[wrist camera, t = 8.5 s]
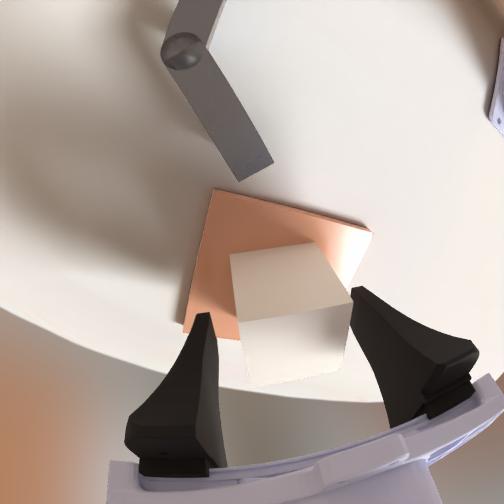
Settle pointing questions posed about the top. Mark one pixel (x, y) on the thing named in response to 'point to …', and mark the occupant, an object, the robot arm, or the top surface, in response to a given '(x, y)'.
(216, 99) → the bent rail
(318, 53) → the top surface
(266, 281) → the cream block
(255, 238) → the terracotta tile
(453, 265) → the top surface
